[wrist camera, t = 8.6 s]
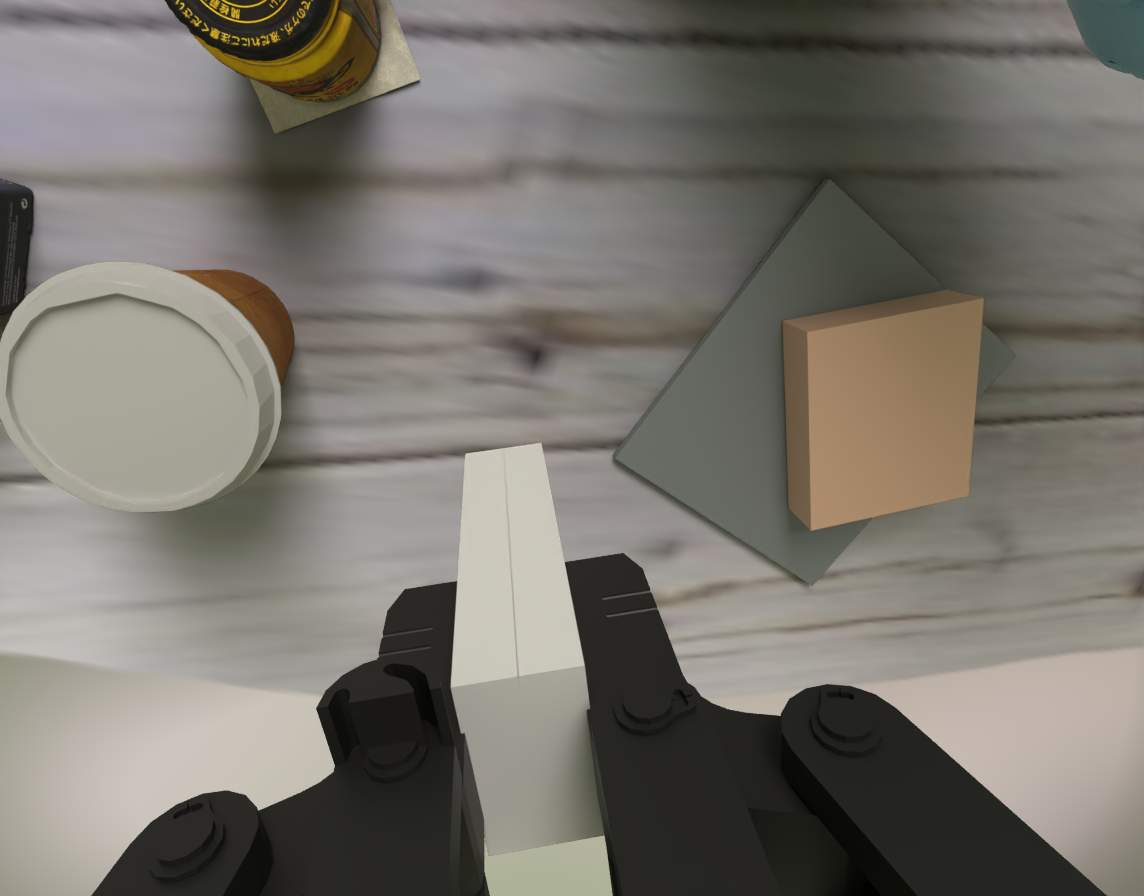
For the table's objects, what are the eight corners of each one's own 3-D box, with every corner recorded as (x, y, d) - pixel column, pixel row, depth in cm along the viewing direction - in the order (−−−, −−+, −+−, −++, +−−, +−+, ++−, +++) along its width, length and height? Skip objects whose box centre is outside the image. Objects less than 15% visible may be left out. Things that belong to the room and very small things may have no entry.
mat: (824, 178, 38) (829, 178, 37) (1009, 352, 43) (1016, 355, 43) (612, 454, 42) (615, 458, 41) (808, 580, 47) (812, 585, 47)
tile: (811, 530, 41) (968, 496, 42) (807, 332, 37) (983, 298, 38) (787, 506, 44) (934, 475, 45) (781, 320, 40) (945, 289, 41)
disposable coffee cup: (344, 269, 36) (296, 314, 25) (306, 439, 38) (248, 547, 27) (139, 207, 33) (-16, 227, 22) (115, 394, 36) (-33, 492, 25)
